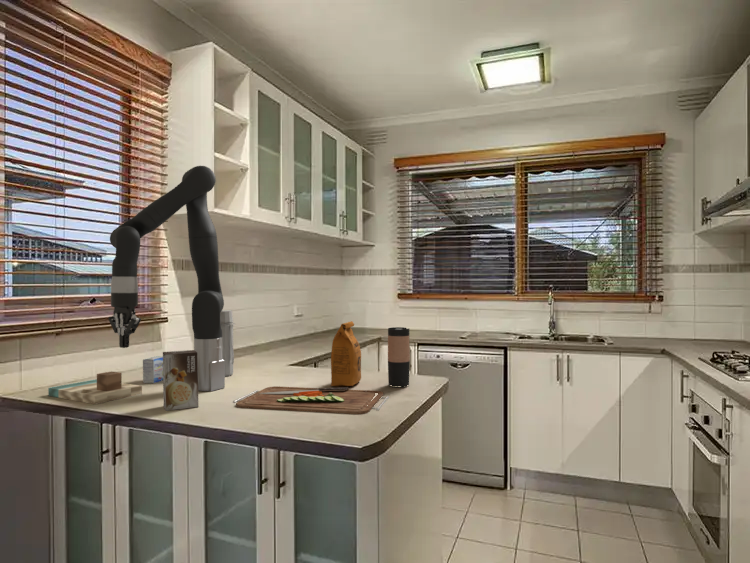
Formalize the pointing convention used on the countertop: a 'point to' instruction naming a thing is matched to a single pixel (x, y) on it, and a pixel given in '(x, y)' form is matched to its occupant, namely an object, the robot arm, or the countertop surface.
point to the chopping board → (312, 400)
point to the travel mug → (398, 356)
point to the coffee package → (345, 357)
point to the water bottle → (227, 340)
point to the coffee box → (180, 379)
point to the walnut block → (109, 381)
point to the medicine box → (153, 369)
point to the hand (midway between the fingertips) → (124, 347)
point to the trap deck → (92, 392)
